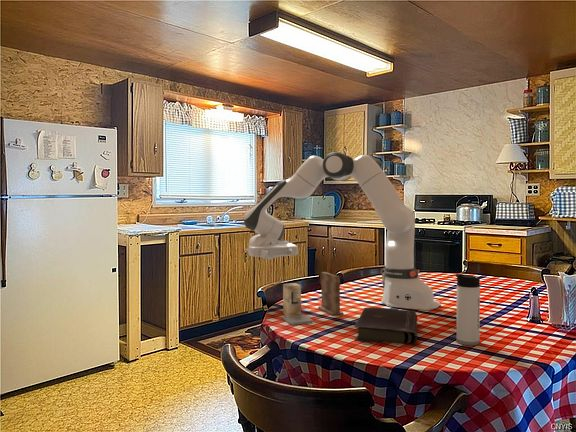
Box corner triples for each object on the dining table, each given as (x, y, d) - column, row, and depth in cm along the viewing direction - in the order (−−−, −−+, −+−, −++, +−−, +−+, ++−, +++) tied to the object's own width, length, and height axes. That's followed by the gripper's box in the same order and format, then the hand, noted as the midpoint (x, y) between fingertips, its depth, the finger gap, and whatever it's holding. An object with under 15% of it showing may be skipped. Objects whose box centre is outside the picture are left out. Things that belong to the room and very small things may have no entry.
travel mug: (451, 339, 136) (451, 272, 136) (473, 338, 137) (473, 272, 136) (461, 346, 130) (461, 276, 129) (483, 345, 131) (484, 275, 130)
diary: (417, 324, 155) (417, 310, 155) (416, 348, 131) (417, 331, 131) (361, 320, 160) (361, 306, 160) (351, 342, 136) (351, 325, 136)
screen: (318, 308, 176) (318, 272, 175) (328, 307, 177) (328, 271, 177) (332, 315, 165) (332, 277, 164) (343, 314, 166) (343, 276, 166)
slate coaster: (303, 317, 164) (303, 314, 164) (313, 322, 156) (313, 320, 156) (282, 319, 161) (282, 317, 161) (291, 325, 153) (291, 322, 153)
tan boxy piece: (295, 312, 171) (295, 282, 170) (301, 315, 166) (301, 285, 166) (283, 313, 169) (283, 284, 168) (288, 316, 164) (288, 286, 164)
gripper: (243, 241, 186) (254, 245, 174) (290, 240, 194) (303, 244, 181) (243, 256, 187) (254, 262, 174) (289, 255, 194) (303, 260, 182)
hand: (279, 253), depth 178 cm, fingers open, 8 cm apart
